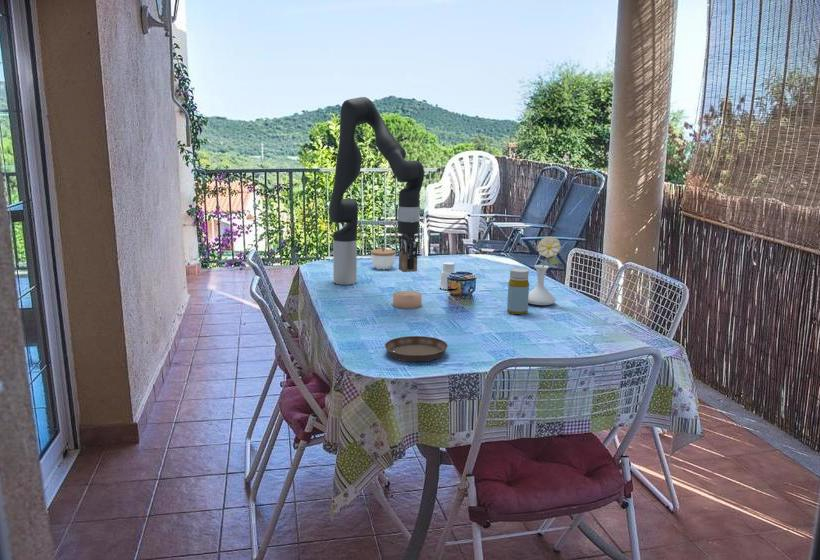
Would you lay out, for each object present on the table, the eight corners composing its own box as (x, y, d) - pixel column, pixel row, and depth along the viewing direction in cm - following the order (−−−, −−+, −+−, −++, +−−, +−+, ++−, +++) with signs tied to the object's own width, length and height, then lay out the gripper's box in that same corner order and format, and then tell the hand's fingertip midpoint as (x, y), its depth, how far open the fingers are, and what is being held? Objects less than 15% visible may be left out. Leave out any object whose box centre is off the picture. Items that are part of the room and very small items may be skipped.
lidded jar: (395, 271, 316) (395, 249, 314) (370, 270, 316) (370, 249, 314) (395, 266, 327) (396, 245, 324) (371, 265, 327) (371, 245, 325)
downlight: (455, 291, 283) (456, 265, 281) (437, 290, 284) (438, 264, 282) (458, 287, 290) (459, 262, 289) (440, 286, 292) (441, 261, 290)
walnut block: (398, 269, 260) (399, 252, 258) (412, 268, 261) (412, 251, 260) (403, 272, 255) (403, 255, 254) (416, 271, 257) (417, 254, 255)
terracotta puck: (388, 303, 263) (388, 292, 262) (414, 300, 267) (414, 289, 266) (399, 310, 254) (400, 299, 253) (426, 307, 258) (426, 296, 257)
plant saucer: (374, 360, 203) (374, 349, 202) (398, 342, 219) (398, 332, 218) (435, 368, 197) (435, 357, 196) (455, 349, 213) (455, 339, 212)
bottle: (515, 308, 258) (517, 267, 255) (531, 312, 254) (534, 270, 250) (502, 312, 254) (504, 269, 250) (519, 316, 249) (521, 272, 246)
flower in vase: (517, 303, 266) (520, 235, 260) (534, 298, 274) (538, 231, 269) (548, 310, 257) (552, 239, 252) (565, 304, 265) (570, 236, 260)
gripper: (391, 216, 259) (391, 264, 263) (405, 222, 246) (404, 272, 250) (411, 216, 262) (410, 263, 266) (426, 221, 249) (425, 271, 253)
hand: (407, 267), depth 258 cm, fingers closed on walnut block, 5 cm apart
